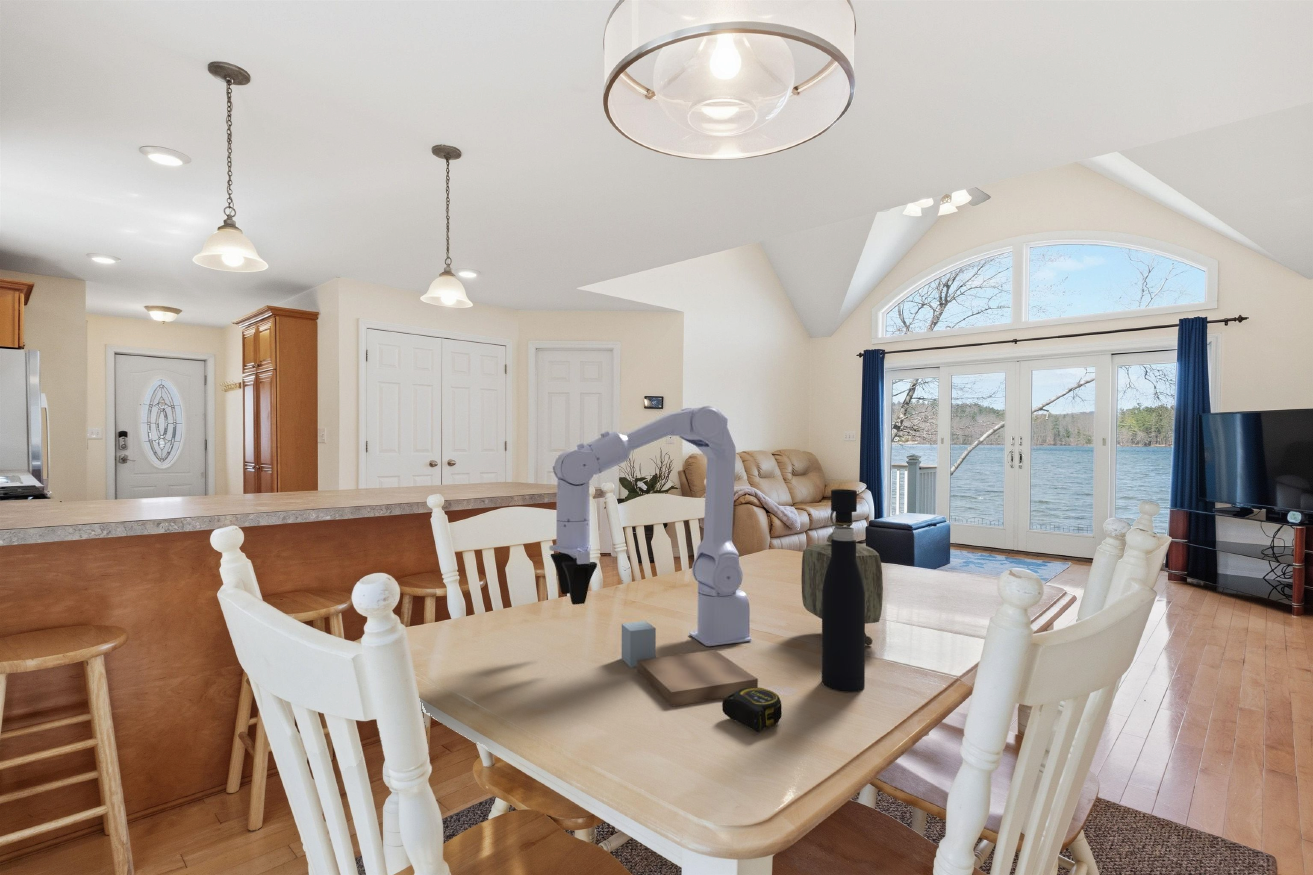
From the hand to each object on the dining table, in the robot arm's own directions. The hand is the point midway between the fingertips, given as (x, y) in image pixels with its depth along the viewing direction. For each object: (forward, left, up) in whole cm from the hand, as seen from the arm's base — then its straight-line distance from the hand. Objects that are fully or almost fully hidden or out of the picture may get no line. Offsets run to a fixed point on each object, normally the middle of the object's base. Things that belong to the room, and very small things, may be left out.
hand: (572, 598), depth 109 cm
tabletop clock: (-50, +8, -10) cm, 52 cm away
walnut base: (-15, +18, -10) cm, 25 cm away
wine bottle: (-36, +27, -10) cm, 46 cm away
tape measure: (-16, +34, -10) cm, 39 cm away
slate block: (-10, +6, -10) cm, 15 cm away
